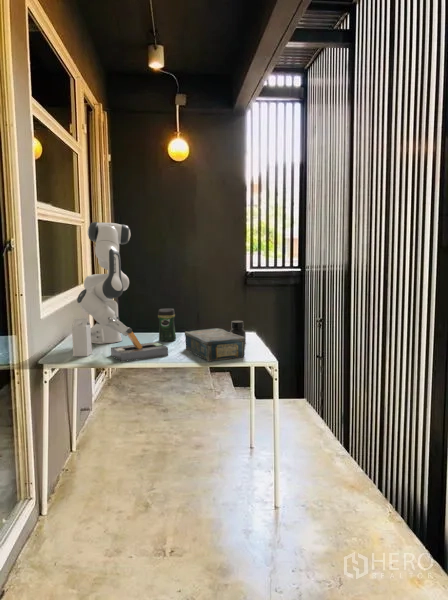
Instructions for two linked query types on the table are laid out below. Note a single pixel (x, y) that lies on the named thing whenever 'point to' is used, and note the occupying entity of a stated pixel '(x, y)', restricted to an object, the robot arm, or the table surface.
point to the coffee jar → (166, 324)
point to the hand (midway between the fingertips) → (126, 334)
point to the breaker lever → (133, 338)
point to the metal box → (215, 344)
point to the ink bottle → (238, 328)
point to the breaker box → (139, 351)
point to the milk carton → (81, 337)
